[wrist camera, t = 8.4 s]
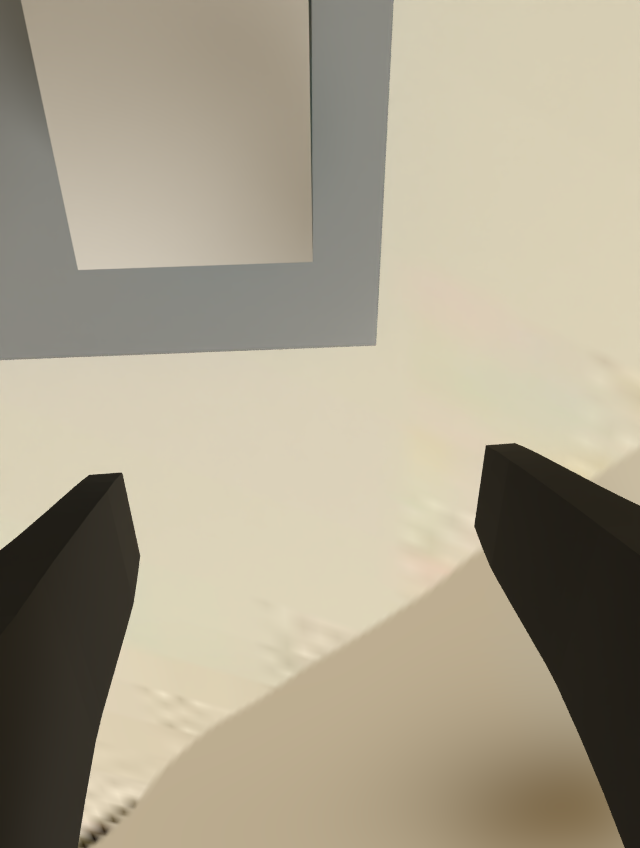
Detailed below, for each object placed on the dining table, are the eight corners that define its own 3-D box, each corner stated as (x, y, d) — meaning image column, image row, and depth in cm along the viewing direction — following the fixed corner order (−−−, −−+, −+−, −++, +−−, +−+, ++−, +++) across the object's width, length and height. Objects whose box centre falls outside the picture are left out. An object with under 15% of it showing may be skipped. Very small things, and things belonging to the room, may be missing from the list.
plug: (140, 220, 17) (77, 270, 11) (111, 39, 15) (15, -29, 9) (289, 216, 17) (312, 261, 11) (283, 39, 15) (308, -25, 9)
